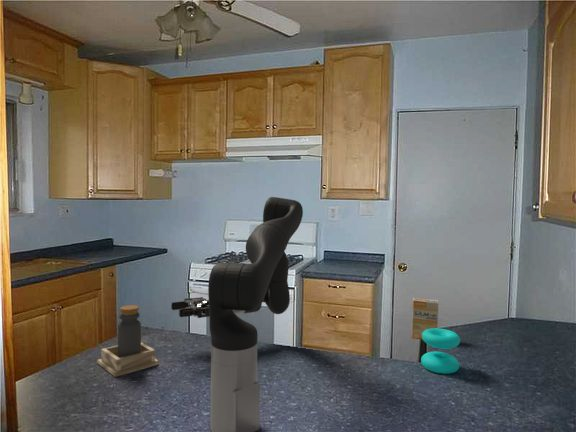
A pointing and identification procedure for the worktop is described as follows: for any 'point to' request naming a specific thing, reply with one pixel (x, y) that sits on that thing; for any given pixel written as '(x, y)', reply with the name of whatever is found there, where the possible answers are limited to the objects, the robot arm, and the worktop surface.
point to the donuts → (440, 360)
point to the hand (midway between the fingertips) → (175, 309)
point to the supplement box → (423, 316)
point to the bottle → (129, 331)
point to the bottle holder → (127, 360)
